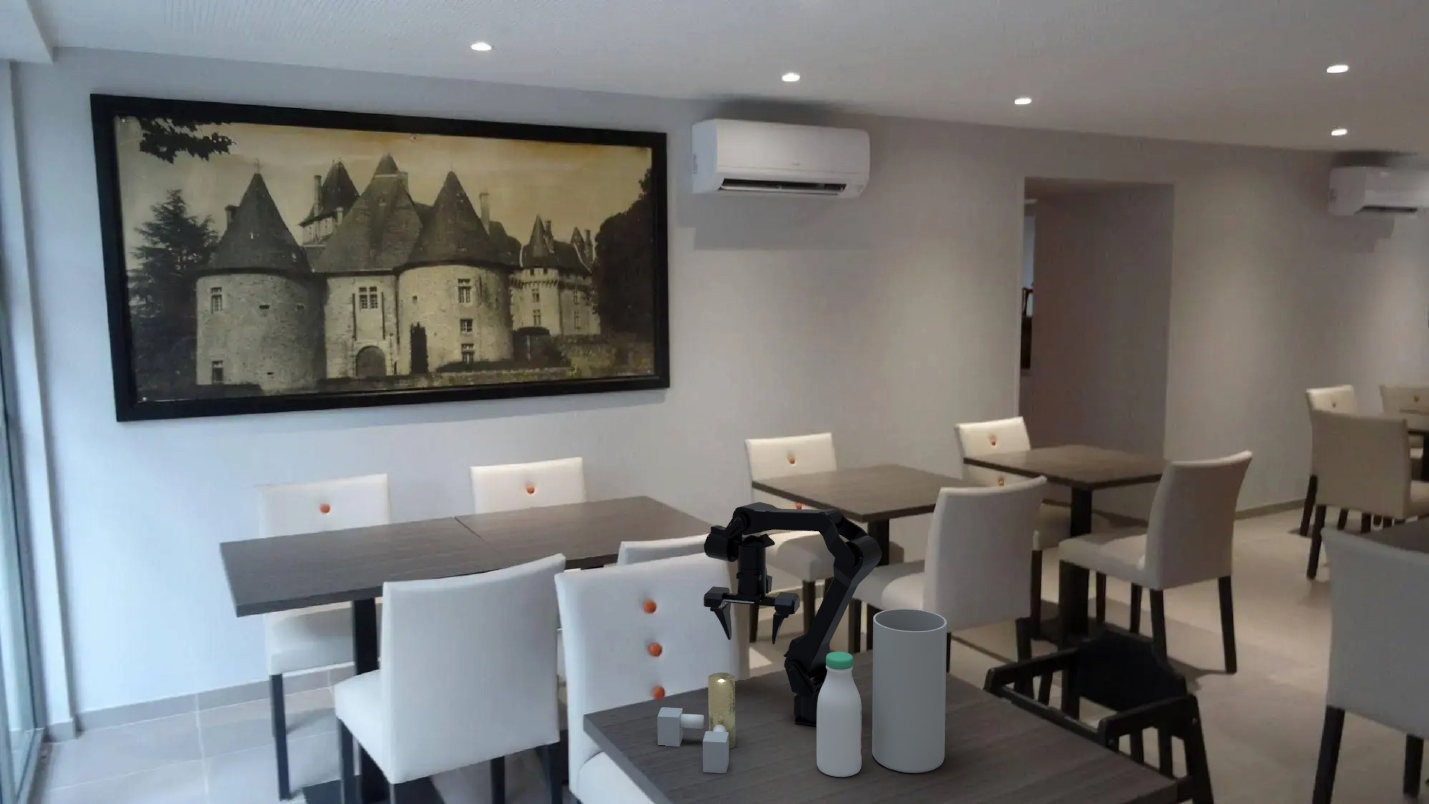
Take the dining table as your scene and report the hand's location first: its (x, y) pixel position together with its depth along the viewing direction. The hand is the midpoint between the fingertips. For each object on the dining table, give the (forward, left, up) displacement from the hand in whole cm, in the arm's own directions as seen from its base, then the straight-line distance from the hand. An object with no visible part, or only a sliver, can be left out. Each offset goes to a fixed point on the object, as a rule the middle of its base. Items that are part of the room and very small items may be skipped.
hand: (751, 641), depth 196 cm
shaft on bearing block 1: (+7, +22, -12) cm, 26 cm away
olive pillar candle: (0, +21, -12) cm, 24 cm away
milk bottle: (-22, +24, -12) cm, 35 cm away
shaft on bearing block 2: (-1, +28, -12) cm, 31 cm away
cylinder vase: (-33, +17, -12) cm, 39 cm away
